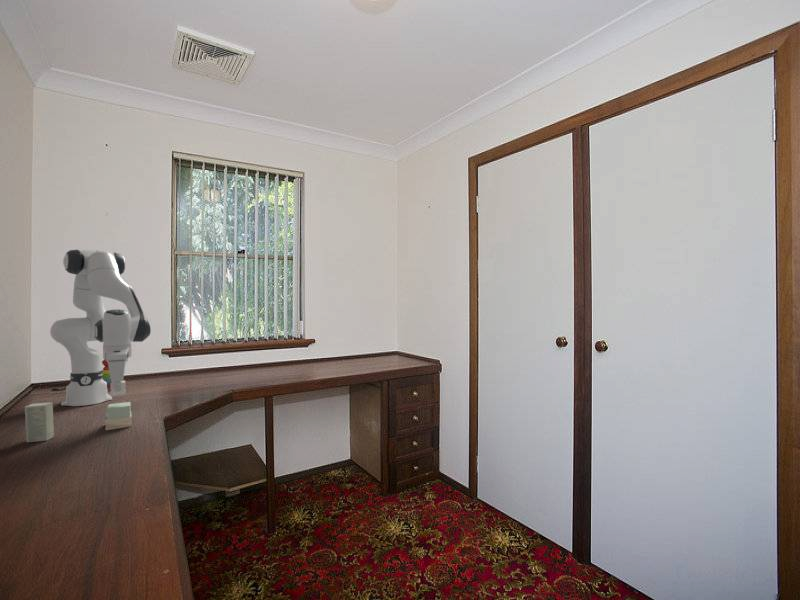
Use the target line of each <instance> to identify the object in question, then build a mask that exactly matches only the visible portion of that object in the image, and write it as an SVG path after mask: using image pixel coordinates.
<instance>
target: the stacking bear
mask: <svg viewBox="0 0 800 600" xmlns="http://www.w3.org/2000/svg"><path fill="white" fill-rule="evenodd" d="M101 361H102V366H103V367H102V370H103V378H102V379H103V380H104V381H105V382H107V390H108V392H111V391H110V390H111V386H110V384H111V382H112V381H111V379H110V373H109V366H108V363H107V361H106V359H102V360H101Z"/></svg>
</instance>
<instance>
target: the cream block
mask: <svg viewBox="0 0 800 600" xmlns="http://www.w3.org/2000/svg"><path fill="white" fill-rule="evenodd" d="M110 386H111V391H110V396H111V397H115V396H123V395H126V380H124V379H123V381H121V391H118V392H116V391H115V385H114V382H111V384H110Z"/></svg>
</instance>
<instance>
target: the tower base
mask: <svg viewBox="0 0 800 600" xmlns="http://www.w3.org/2000/svg"><path fill="white" fill-rule="evenodd" d="M132 414H133V413H132V412H131V413H130V417H122V418H115V419H107V414H106V415H105V425H104V426H105V431H109V430H115V429H116V430H117V429H122V428H129V427H132V426H133V423H132V420H133V418H132Z"/></svg>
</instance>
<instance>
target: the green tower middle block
mask: <svg viewBox="0 0 800 600" xmlns="http://www.w3.org/2000/svg"><path fill="white" fill-rule="evenodd" d="M131 407H132V403H131V401H124V402H119V403H118V402H117V403H110V404H109V403H108V405H107V408H106V415H107V419H115V418H122V417H130V413H132V410H131Z"/></svg>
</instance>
